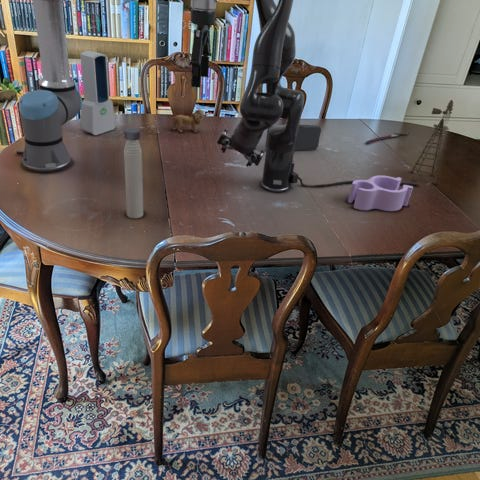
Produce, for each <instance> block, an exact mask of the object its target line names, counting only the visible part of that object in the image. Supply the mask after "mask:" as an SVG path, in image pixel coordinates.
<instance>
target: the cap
mask: <svg viewBox="0 0 480 480" xmlns="http://www.w3.org/2000/svg"><path fill="white" fill-rule="evenodd" d="M124 138H125V140H126V141H127V140H138V141H139V140H140V139H141V131H140V128H137V127H133V126H131V127H126V128H124Z"/></svg>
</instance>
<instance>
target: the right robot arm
mask: <svg viewBox="0 0 480 480" xmlns="http://www.w3.org/2000/svg"><path fill="white" fill-rule="evenodd" d="M293 4H294V0H278V2H277V4H276V2H275V0H255V5H256V10H257V16H258V21H259V34H258V35H257V37H256V40H255V42H254V45H253V51H252V58H251V69H250V75H249V79H248V82H247V85H246V88H245V90H244V92H243V95H242V97H241V101H240V104H239V112H240V113H239V114H240V115H241V117H240V120H239V122H238V123H237V125H236V127H235V128H234V130H233V133H232V134H229V133H228V132H229V130H227V129H224V130H223V131H222V132H221V135H220V136H219V138H218V139H217V142H216V143H217V144H218V145H221V149H220V150H221V151H222V152H221V153H222V154H225V153H226V151H227V150H228V151H229V150H234V151H236V152H238V153H239V154H241V155H242V156H243V157H244V159H245V160H247V163H246V165H245V166H246V167H252V165H253V164H254V165H255V166H256V167H258V166H259V164H260V163H261V161H262V159H263V157H264V163H263V171H262V178H261V183H260V184H261V187H262V188H263V189H264V190H267V191H269V192H273V193H283V192H286V191H288V189H290V188H291V187H292V185H294V184H298V180H299V182H300V185H301V186H302V187H304V188H320V187H329V186H336V185H344V184H352V183H353V181H354V180H346V181H337V182H333V183H327V184H325V183H324V184H323V183H322V184H315V185H307V184H304V182H303V179H302V178H301V177H299V174H298V173H297V172H296V171H294V170H295V169H294V168H295V161H294V154H295V150H294V149H295V143H296V137H297V133H298V128H299V125H300V122H301V117H302V115H303V114H302V113H303V108H304V104H305V103H304V102H305V95H304V93H303V92H302V91H301V90H296V89H292V88H288V87H283V86H282V84H281V80H282V78H283V77H284V75H285V73H286V72H287V71H288V70H289V69H290V68H291V66H292V64H293V63H294V61H295V58H296V54H297V53H296V52H297V51H296V34H295V31H294V28H293V27H292V25H291V23H290V18H291V13H292V9H293ZM261 85H265V88H266V90H265V92H262V91H258V88H259V87H260V86H261ZM280 119H282V120H286V124H281V125H275V124H276V123H278V121H279V120H280ZM271 126H274V127H272V128H270V129H269V132H268V140H267V148H266V147H265V150H260V151H259V150H258V149H257V148H256V147H257V146H258V144H259V143H260V141H261V139H262V136H263V135H264V132H265V131H267V129H268V128H269V127H271ZM264 155H265V156H264ZM400 185H402V186H403V185H409V186H413V187H414V186H415V187H417V186H418V185H419V183H414V182H413V183H412V182H411V183H410V182H402V181H401V182H400Z"/></svg>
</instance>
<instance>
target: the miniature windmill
mask: <svg viewBox="0 0 480 480" xmlns="http://www.w3.org/2000/svg"><path fill="white" fill-rule="evenodd" d="M453 107H454V101H453V100H452V99H450V100H449V102H448V103H447V106H446V109H445V110H441V108H437V107H432V111H431V115H440V114H442V115H443V116H442V118H441V119H440V121H439V123H438V124H433V127H434V130H433V131H432V134H431V136H430V138H429V140H428V141H427V142H426V145H425V147H423V150H422V151H421V152H420V155H419V157H417V160H416V161H415V163H414V166H413V168H412V169H411V171H410V172H411V173H414V170H415V171H416V173H415V175H414V176H413V179H412V180H413V181H416V179H417V177H418V175H419V173H423V174H429V175H430V176H432V177H433V176H434V181H433V184H434V185H435V184H436V183H437V178H438V176H439V173H438V170H439V162H440V154H441V150H442V138H443V132H444V131H449V130H450V128H449V127H448V126H447V124H448V123H449V120H450V118H451V115H452V113H453V110H454V108H453ZM436 137H438V138H437V139H438V140H437V142H434V141H435V139H436ZM433 144H434V145H436V146H433ZM431 148H433V149H435V153H432V152H430V149H431ZM427 155H432V156H434V158H432V157H427ZM421 159H422V160H421ZM420 160H421V161H420ZM425 160H430V161H433V163H432V165H428V164H424V162H425ZM435 165H436V166H435ZM418 166H419V167H418ZM422 167H429V168H432V169H431V172H429V171H422V170H421V169H422Z"/></svg>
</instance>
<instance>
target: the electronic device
mask: <svg viewBox="0 0 480 480" xmlns="http://www.w3.org/2000/svg"><path fill="white" fill-rule="evenodd" d="M79 56H80V65H81V78H82V89H83V99H82V107H81V110H80V117H79V118H80V119H79V126H80V128H81V130H82V132H84V133H87V134H91V135H93V136H98V135H102V134H103V133H106V132H111V131H113V130H114V129H115V127H116V116H115V110H114V102H113V100H112V99H110V88H109V87H110V86H109V71H108V70H109V69H108V55H107V54H105V53H100V52H96V51H93V50H85V51H83V52H81V53H80V55H79Z"/></svg>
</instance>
